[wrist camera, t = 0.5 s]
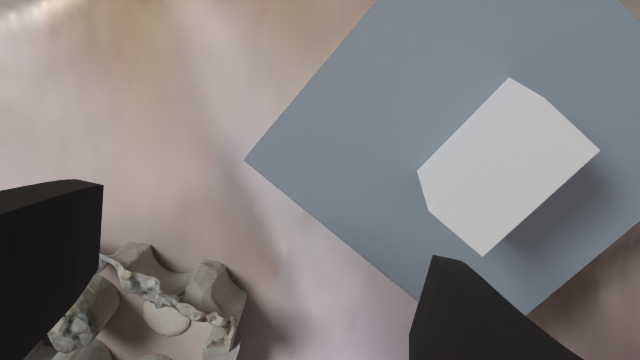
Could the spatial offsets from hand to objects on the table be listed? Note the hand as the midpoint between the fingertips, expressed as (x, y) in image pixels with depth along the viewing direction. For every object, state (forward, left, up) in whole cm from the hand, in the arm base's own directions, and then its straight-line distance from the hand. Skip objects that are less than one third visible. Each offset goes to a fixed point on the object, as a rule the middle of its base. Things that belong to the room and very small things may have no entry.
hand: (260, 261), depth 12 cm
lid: (-4, -5, -7) cm, 9 cm away
